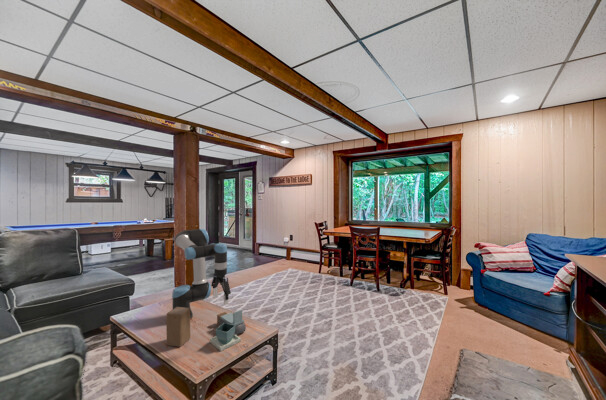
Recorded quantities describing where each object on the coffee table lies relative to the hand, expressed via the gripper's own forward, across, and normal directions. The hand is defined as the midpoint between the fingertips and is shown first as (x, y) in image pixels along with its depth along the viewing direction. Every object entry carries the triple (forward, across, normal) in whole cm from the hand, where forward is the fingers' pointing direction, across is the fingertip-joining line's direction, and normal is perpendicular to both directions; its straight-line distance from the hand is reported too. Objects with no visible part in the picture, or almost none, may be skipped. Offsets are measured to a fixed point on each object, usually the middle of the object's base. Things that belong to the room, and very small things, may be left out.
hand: (220, 301), depth 163 cm
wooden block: (+24, -14, -20) cm, 35 cm away
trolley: (+24, -2, +10) cm, 26 cm away
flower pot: (+23, +8, -1) cm, 24 cm away
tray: (+24, +7, 0) cm, 25 cm away
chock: (+24, -14, +10) cm, 30 cm away
